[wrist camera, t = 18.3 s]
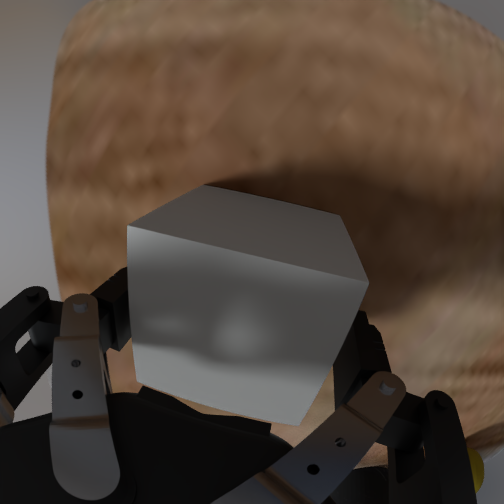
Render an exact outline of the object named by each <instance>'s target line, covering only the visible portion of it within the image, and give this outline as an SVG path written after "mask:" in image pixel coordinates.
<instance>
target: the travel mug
mask: <svg viewBox="0 0 504 504" xmlns="http://www.w3.org/2000/svg"><path fill="white" fill-rule="evenodd" d="M330 496H331V497H332V499H333V500H334V501H335V503H336V504H389V474H388V469H386V468H382V467H367V468H360V469H355V470H352V471H351V472H350V473H349V474H348V476H347V477H346V478H345V479H344V480H343V481H342V482H341V483H340V484H339V486H338V487H337V488H336V489H335V490H334V491H333V492H332V493H331V494H330Z"/></svg>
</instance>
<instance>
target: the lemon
mask: <svg viewBox="0 0 504 504" xmlns="http://www.w3.org/2000/svg"><path fill="white" fill-rule="evenodd" d="M467 450H468V455H469V459H470V464H471V469H472V474H473V480H474V486H475V492H476V493H477V492H478V490H479V489H480V487H481V485H482V483H483V479H484V464H483V460H482V458H481V456H480V455H479V453H478V452H477V451H475V450H474V449H472V448H467Z"/></svg>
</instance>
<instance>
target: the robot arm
mask: <svg viewBox="0 0 504 504" xmlns="http://www.w3.org/2000/svg"><path fill="white" fill-rule="evenodd" d="M27 331H28V332H29V335H30V338H31V339H30V340H29V341H28V342H27V343H26V344H25V345H24V346H23V347H22V348H21V349H20V351H18V352H17V353H16V352H15V346H16V343H17V341H18V340H19V339H20V338H21V337H22V336H23V335H24V334H25V333H26V332H27ZM131 337H132V336H131V325H130V313H129V296H128V271H127V267H125V268H122V269H120V270H119V271H118V272H117V273H115V274H114V276H112V277H110V278H109V279H108V281H106V282H104V283H103V284H102V285H101V286H100V287H98V288H97V289H96V290H95V291H94V292H92V293H91V294H84V293H80V294H75V295H72V296H70V297H68V298H67V299H66V300H65V301H64V302H60V301H53V300H50V298H49V294H48V291H47V290H46V289H45V288H44V287H40V286H33V287H29V288H26V289H24V290H23V291H22V292H21V293H19V294H18V295H17V296H15V297H14V298H13V299H12V300H10V301H9V302H8V303H7V304H6V305H4V306H3V307H2V308H1V309H0V504H336V503H335V501H334V500H333V499H332V497H331V496H330V494H331V493H332V492H333V491H334V490H335V489H336V488H337V487H338V486H339V484H340V483H341V482H342V481H343V480H344V479H345V478H346V477H347V476H348V474H349V473H350V472H351V471H352V470H353V469H354V468H355V466H356V465H357V464H358V463H359V462H360V460H361V459H362V458H363V457H364V455H365V454H366V453H367V452H368V450H369V449H370V448H371V447H372V445H373V444H374V443H375V442H376V443H379V444H382V445H385V446H387V451H388V474H389V504H477V500H476V492H475V486H474V480H473V474H472V469H471V464H470V459H469V455H468V450H467V446H466V442H465V438H464V434H463V430H462V427H461V423H460V419H459V416H458V413H457V409H456V406H455V403H454V401H453V400H452V398H451V397H450V396H449V395H447V394H446V393H444V392H442V391H438V390H433V391H430V392H429V393H428V394H427V395H426V396H425V398H421V397H419V396H416V395H413V394H410V393H408V392H406V386H405V384H404V382H403V381H402V380H401V379H400V378H399V377H398V376H397V375H395V374H393V373H392V372H391V368H390V365H389V361H388V357H387V354H386V351H385V347H384V344H383V340H382V337H381V333H380V332H379V331H378V330H377V328H376V327H375V326H374V325H370V324H369V322H368V319H367V315H366V312H365V311H360V310H358V312H357V314H356V316H355V319H354V321H353V323H352V325H351V328H350V330H349V332H348V334H347V336H346V338H345V340H344V343H343V345H342V347H341V349H340V351H339V353H338V355H337V357H336V359H335V361H334V363H333V375H334V398H335V412H334V413H333V414H331V415H330V416H329V417H328V418H327V419H326V420H325V421H324V422H323V423H322V424H321V425H320V426H319V427H317V428H316V429H315V430H314V431H313V432H312V433H311V434H310V435H308V436H307V437H306V438H305V439H304V440H303V441H301V442H300V443H299V444H298V445H297V446H296V447H294V448H293V447H292V446H291V445H290V444H289V443H287V442H286V441H285V440H283V439H282V438H280V437H278V436H276V435H274V434H272V433H270V430H271V423H266V422H261V421H257V420H252V419H248V418H244V417H240V416H224V415H210V414H202V413H200V412H198V411H196V410H194V409H193V408H191V407H189V406H187V405H186V404H184V403H182V402H181V401H179V400H177V399H176V398H174V397H172V396H169V395H167V394H164V393H161V392H158V391H156V390H153V389H151V388H148V387H145V386H142V388H141V389H140V391H139V393H129V392H120V393H113V392H112V387H111V381H110V374H109V367H108V360H107V354H106V351H107V350H108V349H109V348H112V349H114V350H117V351H119V352H120V350H121V349H122V348H123V347H124V345H125V344H126V343H127V342H128V340H129V339H130V338H131ZM52 363H53V364H52ZM51 364H52V413H48V414H45V415H41V416H38V417H34V418H30V419H26V420H22V421H18V422H14V423H13V419H14V411H15V409H16V408H17V407H18V405H19V404H20V403H21V402H22V400H23V399H24V398H25V396H26V395H27V394H28V392H29V391H30V390H31V389H32V387H33V386H34V385H35V383H36V382H37V381H38V380H39V379H40V377H41V376H42V375H43V374H44V372H45V371H46V370H47V369H48V368H49V366H50V365H51ZM423 446H424V449H423ZM424 450H425V456H424Z"/></svg>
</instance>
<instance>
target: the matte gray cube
mask: <svg viewBox="0 0 504 504" xmlns="http://www.w3.org/2000/svg"><path fill="white" fill-rule="evenodd" d="M127 271H128V296H129V313H130V325H131V336H132V346H133V355H134V363H135V370H136V377H137V382H140V383H142V384H145V385H147V386H150V387H153V388H155V389H158V390H161V391H163V392H166V393H169V394H172V395H175V396H178V397H181V398H184V399H187V400H190V401H193V402H196V403H200V404H203V405H206V406H210V407H213V408H217V409H221V410H224V411H228V412H232V413H236V414H240V415H244V416H249V417H253V418H258V419H262V420H267V421H272V422H277V423H283V424H289V425H295V426H299V424H300V423H301V421H302V419H303V418H304V416H305V414H306V413H307V411H308V409H309V407H310V406H311V404H312V402H313V400H314V399H315V397H316V395H317V393H318V392H319V390H320V388H321V386H322V384H323V382H324V380H325V379H326V377H327V375H328V373H329V371H330V369H331V367H332V365H333V363H334V361H335V359H336V357H337V355H338V353H339V351H340V349H341V347H342V345H343V343H344V340H345V338H346V336H347V334H348V332H349V330H350V328H351V325H352V323H353V321H354V319H355V316H356V314H357V312H358V309H359V307H360V305H361V302H362V300H363V298H364V295H365V293H366V290H367V288H368V285H369V281H368V278H367V276H366V273H365V271H364V268H363V266H362V264H361V261H360V259H359V257H358V254H357V252H356V250H355V247H354V245H353V243H352V241H351V238H350V236H349V234H348V232H347V230H346V227H345V225H344V223H343V221H342V219H341V217H340V215H336V214H333V213H329V212H325V211H321V210H317V209H313V208H309V207H304V206H300V205H296V204H292V203H288V202H283V201H279V200H275V199H270V198H266V197H261V196H256V195H252V194H247V193H242V192H238V191H233V190H228V189H223V188H218V187H213V186H207V185H201V186H199V187H197V188H195V189H193V190H191V191H189V192H187V193H186V194H184V195H182V196H180V197H178V198H176V199H174V200H172V201H170V202H168V203H167V204H165V205H163V206H161V207H159V208H157V209H155V210H154V211H152V212H150V213H148V214H146V215H145V216H143V217H141V218H139V219H138V220H136V221H134V222H132V223H131V224H129V225H127Z"/></svg>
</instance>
